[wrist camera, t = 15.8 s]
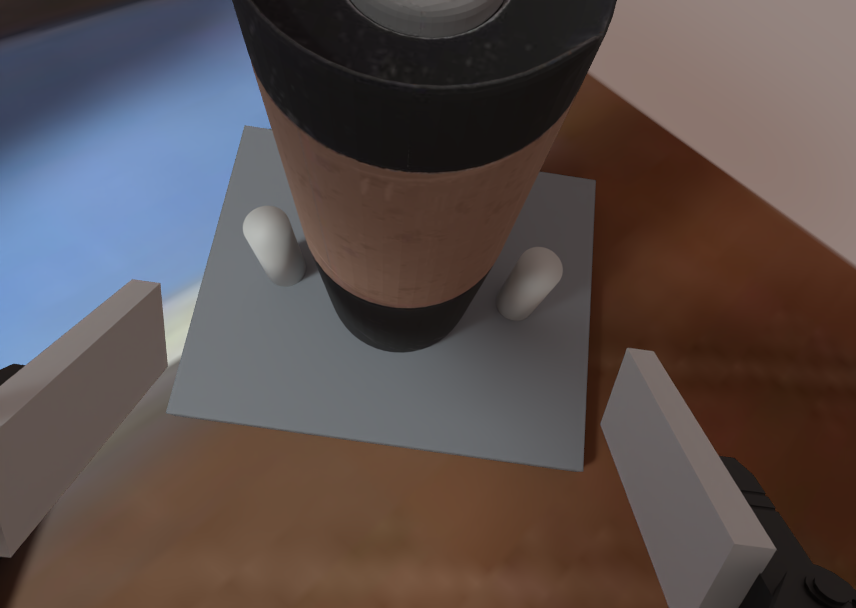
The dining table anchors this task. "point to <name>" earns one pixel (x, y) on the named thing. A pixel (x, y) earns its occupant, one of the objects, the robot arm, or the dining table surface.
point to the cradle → (391, 371)
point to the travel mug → (414, 139)
